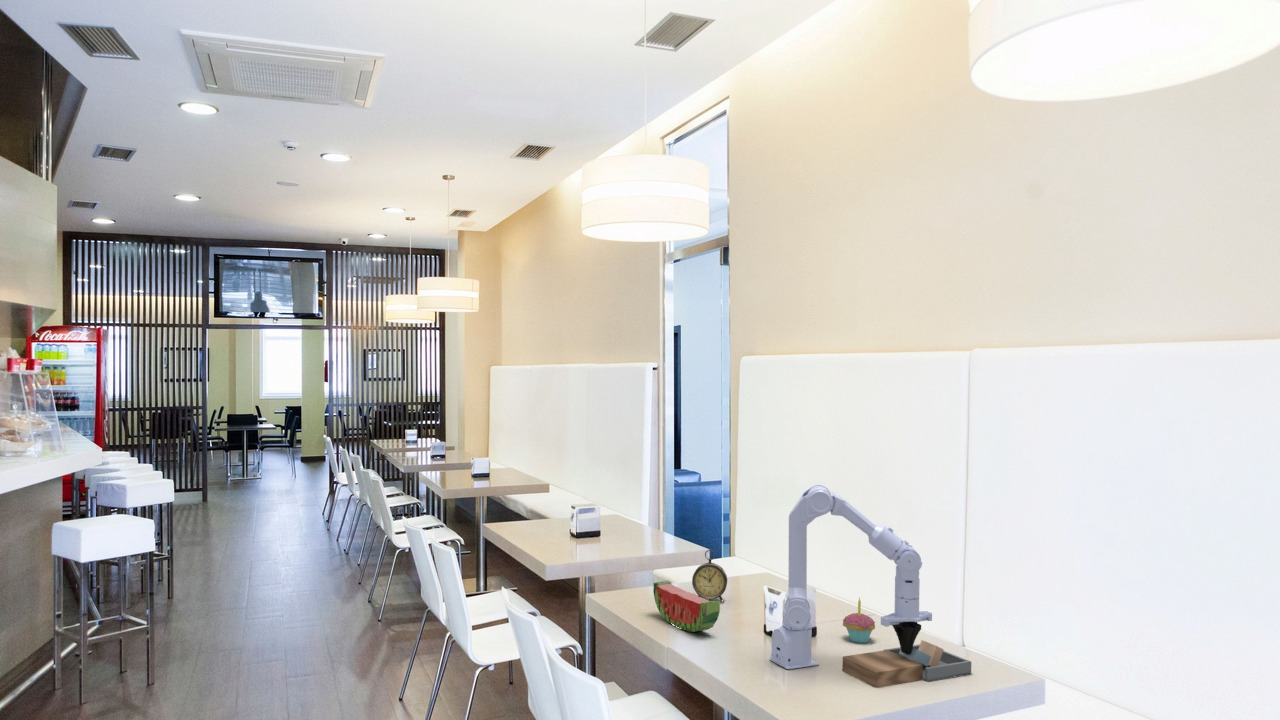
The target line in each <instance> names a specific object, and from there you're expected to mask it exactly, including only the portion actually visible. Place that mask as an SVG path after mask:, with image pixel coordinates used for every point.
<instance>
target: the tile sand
mask: <svg viewBox="0 0 1280 720" xmlns="http://www.w3.org/2000/svg"><path fill="white" fill-rule="evenodd" d="M919 644H920V646H919V649H918V650H919V651H921V652H923V653H925V654H927V655H929V656H931V658H930V661H929V664H928V666H931V667H933V666H938V664H939V662H940V659H941V656H942V653H943V651H945V650H944V649H943V648H942V647H940V646H938V645H935V644H933V643H930V642H928V641H925V640H922V639H921V640H920V643H919Z"/></svg>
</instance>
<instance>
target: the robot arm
mask: <svg viewBox="0 0 1280 720" xmlns="http://www.w3.org/2000/svg"><path fill="white" fill-rule="evenodd" d="M828 513H830V514H831V515H832V516H838V517H842V518H844V519H846V520H847V521H848V522H850V523H851V524H852V525H854V527H856V528H858V529H859V530H860V531H862V532H863V533H864V534H866V535H867V537H868V544H869V545H871V546H873V548H874V549H876V550H877V551H879V552H880V553H881V554H882V555H883V556H885V557H886V558H887V559H888V560H889V561H893V562H894V563H895V576H894V612H893V613H889V614H887V615H881V616H880V626H883V627H887V628H888V627H890V626H892V628H893V630H894V631H895V633H896V634H895V635H896V637H897V639H898V642H899V647H901V652H903V653H905V654H911V652H912V648H913V645H915V641H916V639H917V636H918V634H920V632H921V630H922V624H920V622H924V621H925V622H931V621H933V612H930V611H928V610H925V611H923V610H922V611H920V583H921V582H920V581H921V580H920V570H921V568H922V566H923V562H922V559H921V558H922V557H921V556H920V553H918V552H917V550H916V549H915V548H914V547H913V545H911V544H910V542H909V541H907V540H903V539H902V538H901V537H899V536H898V535H897V534H895V533H894V529H893V528H892V527H891V526H887V527H886V525H884V524H881V525H876V524H874V523H873V522H872V521H871V520H870V519H869V518H867V516H865V515H864V514H863V513H862V512H860V510H858V509H857V508H856V507H854V506H853V505H852V504H851V503H850V502H849V501H847V500H846V499H844V498H843V497H842V496H840V495H838V494H837V493H836V492H833V491H831V492H830V490H829V489H828V487H827V486H825V485H821V484H815V485H812V486H811V487H810V488H808V489H807V490H805V491H804V492H803V493H802V494H801V496H800V498H799V499H798V501H797V502H796V504H795V505H794V506H793V508H792V510H791V511H790V512H789V515H788V589H787V590H788V594H787V599H786V600H785V603H784V621H782V625H781V626H780V627H778V628H775V629H774V630H773V631H772V634H771V657H769V660H770V661H772V662H773V663H775V664H776V665H779V666H781V667H783V668H784V669H786V670H793V669H800V668H801V669H802V668H806V667H807V668H808V667H812V666H813V667H814V666H819V662H818V661H815V660H814V659H812V647H813V646H812V643H813V642H812V640H813V639H812V637H813V635H812V634H813V633H812V632H813V631H812V630H813V625H812V624H811V623H810V622H811V619H812V615H811V611H810V610H811V607H810V602H809V601H808V597H807V596H808V595H807V594H808V592H807V591H808V590H807V577H808V575H807V574H808V573H807V571H808V569H807V568H808V567H807V565H808V564H807V561H808V560H807V556H808V555H807V554H808V553H807V552H808V550H807V549H808V547H807V546H808V545H807V543H808V539H807V538H808V537H807V536H808V532H807V531H808V525H809V524H811V523H812V522H813V521H815V519H816V518H819V517H821V516H824V515H827V514H828Z"/></svg>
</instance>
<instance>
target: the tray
mask: <svg viewBox="0 0 1280 720" xmlns="http://www.w3.org/2000/svg"><path fill="white" fill-rule="evenodd" d="M919 646H920V643H919V644H913V648H915V649H917V650H918V649H919ZM900 649H901V647H900V646H899V647H893V648H886V649H884V650H889V651H891V652H894V653H896V654H898V655H900V654H899V652H900ZM901 656H903V655H901ZM903 657H905V656H903ZM905 658H907V657H905ZM908 659H909V658H908ZM910 660H911V659H910ZM912 661H913V660H912ZM914 662H915V661H914ZM917 663H918V662H917ZM919 664H920V663H919ZM921 665H922V664H921ZM966 674H969V675H972V661H970V660H968V659H966V658H964V657H960V656H958V655H956V654H953V653H950V652H948V651H946V650H943V653H942V656H941V659H940V662H939V664H938V666H933V667H931V666H928V667H927V666H925V665H923V680H922V681H925V682H927V681H929V682H933V681H932V680H935V681H939V679H940V680H944V679H943V678H946V679H950V678H949V677H952V678H955V677H954V676H958V677H960V676H959V675H964V676H967V675H966Z"/></svg>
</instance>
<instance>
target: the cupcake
mask: <svg viewBox="0 0 1280 720" xmlns="http://www.w3.org/2000/svg"><path fill="white" fill-rule="evenodd" d="M861 604H862V601H861V597H859V598H858V601H857V612H854V613H850V614H848V615H847V616H846V615H845V617H844V618H843V620H842V626H843V627H845V629H846V630H847V633H848V636H849V641H851V642H853V643H858V644H866V643H868V642H869V640H870V637H871V634H872V632H873V630H875V629H876V624H875V623H876V621H874V619H873V618H872V617H870V616H869V615H867V614H864V613H861V609H862V607H861V606H862V605H861Z"/></svg>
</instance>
